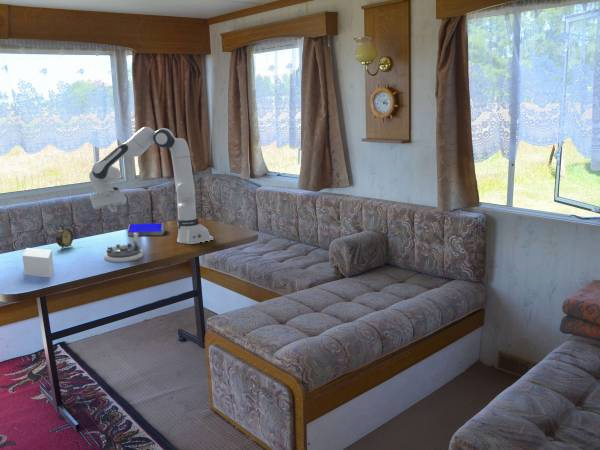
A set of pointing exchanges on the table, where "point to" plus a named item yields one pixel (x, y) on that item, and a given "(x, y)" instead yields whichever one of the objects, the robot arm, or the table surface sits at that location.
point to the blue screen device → (146, 229)
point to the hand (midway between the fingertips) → (114, 211)
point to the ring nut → (129, 251)
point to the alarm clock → (64, 237)
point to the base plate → (123, 259)
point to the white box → (38, 262)
